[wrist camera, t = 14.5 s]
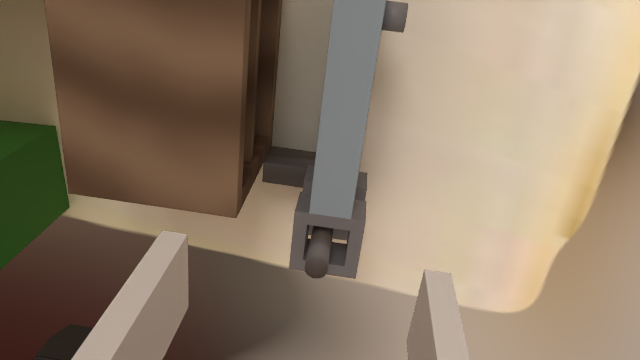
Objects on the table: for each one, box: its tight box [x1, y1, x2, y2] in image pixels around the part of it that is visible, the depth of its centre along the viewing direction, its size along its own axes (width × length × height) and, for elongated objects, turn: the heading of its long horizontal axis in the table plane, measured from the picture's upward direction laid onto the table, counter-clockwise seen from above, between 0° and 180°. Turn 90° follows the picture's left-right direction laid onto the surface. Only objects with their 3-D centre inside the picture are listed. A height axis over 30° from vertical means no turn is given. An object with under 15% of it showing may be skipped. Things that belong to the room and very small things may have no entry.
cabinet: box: [44, 0, 334, 278], centre depth 31 cm, size 17×16×12 cm
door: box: [289, 0, 408, 279], centre depth 33 cm, size 17×5×10 cm, turn 174°
